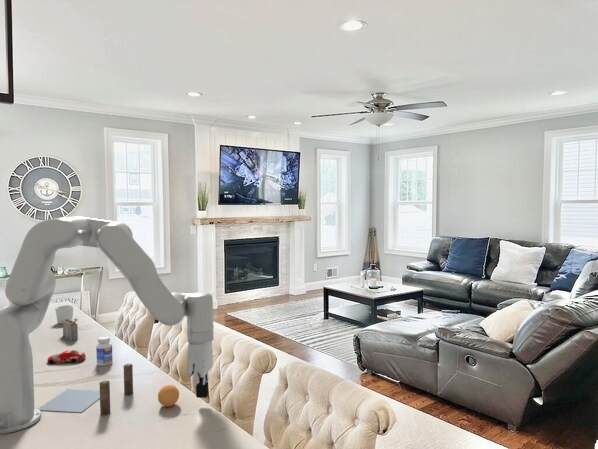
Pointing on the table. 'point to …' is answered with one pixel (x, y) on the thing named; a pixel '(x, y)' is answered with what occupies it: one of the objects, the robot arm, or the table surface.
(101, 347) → the pill bottle
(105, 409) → the gate post left
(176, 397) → the ball
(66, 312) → the cup
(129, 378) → the gate post right
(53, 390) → the table surface
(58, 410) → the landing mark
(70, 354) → the race car
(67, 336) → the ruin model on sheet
